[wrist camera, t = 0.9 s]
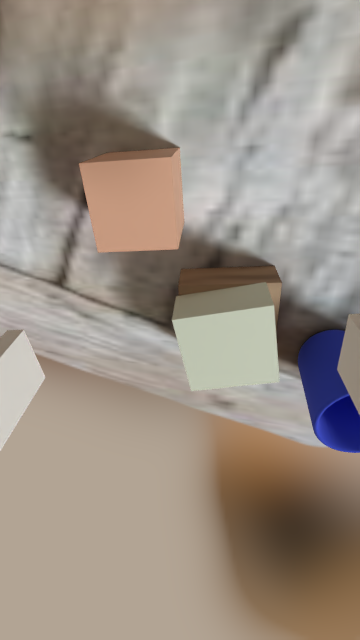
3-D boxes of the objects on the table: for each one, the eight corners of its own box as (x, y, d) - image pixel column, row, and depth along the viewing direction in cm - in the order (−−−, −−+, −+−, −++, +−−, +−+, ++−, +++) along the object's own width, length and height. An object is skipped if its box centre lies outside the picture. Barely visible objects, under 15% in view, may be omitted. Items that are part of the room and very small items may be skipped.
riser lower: (181, 267, 32) (178, 285, 28) (273, 264, 31) (281, 282, 27) (186, 340, 36) (184, 363, 33) (266, 339, 36) (272, 363, 32)
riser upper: (176, 296, 29) (171, 320, 26) (266, 282, 27) (274, 305, 24) (192, 363, 33) (191, 391, 30) (271, 353, 32) (279, 382, 28)
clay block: (107, 152, 26) (78, 163, 20) (179, 147, 26) (171, 156, 20) (119, 225, 30) (97, 252, 24) (184, 222, 29) (178, 249, 23)
